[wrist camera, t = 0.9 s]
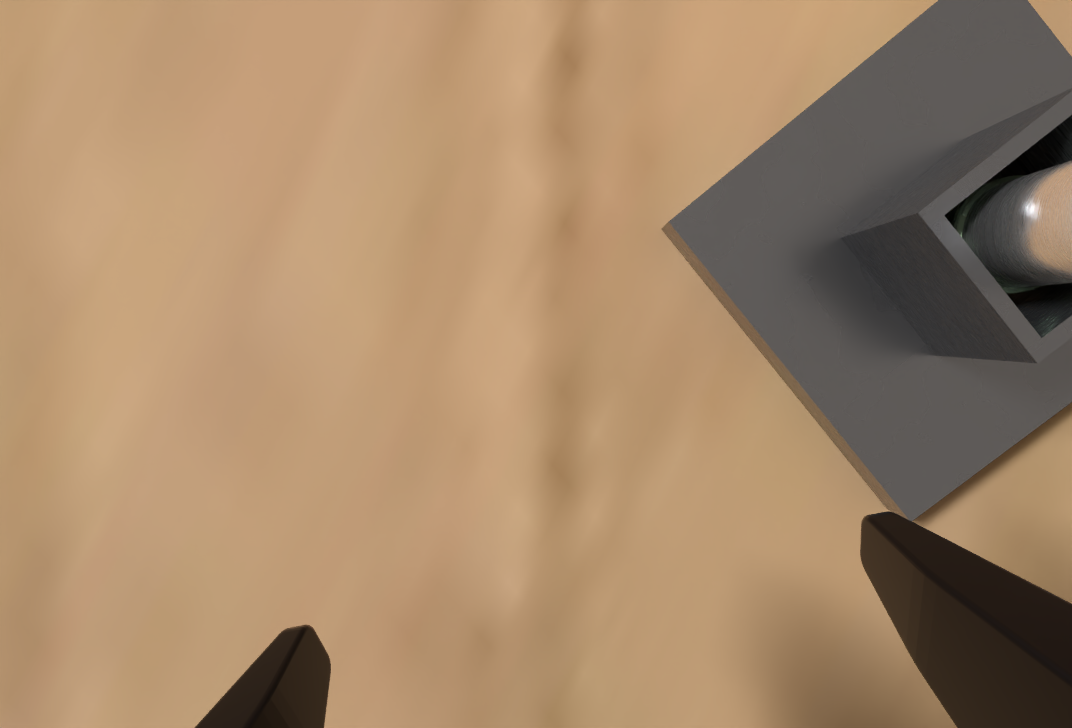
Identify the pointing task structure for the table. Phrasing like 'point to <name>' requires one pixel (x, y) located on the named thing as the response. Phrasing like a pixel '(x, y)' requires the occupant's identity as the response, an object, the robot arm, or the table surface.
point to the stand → (902, 250)
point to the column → (1021, 228)
